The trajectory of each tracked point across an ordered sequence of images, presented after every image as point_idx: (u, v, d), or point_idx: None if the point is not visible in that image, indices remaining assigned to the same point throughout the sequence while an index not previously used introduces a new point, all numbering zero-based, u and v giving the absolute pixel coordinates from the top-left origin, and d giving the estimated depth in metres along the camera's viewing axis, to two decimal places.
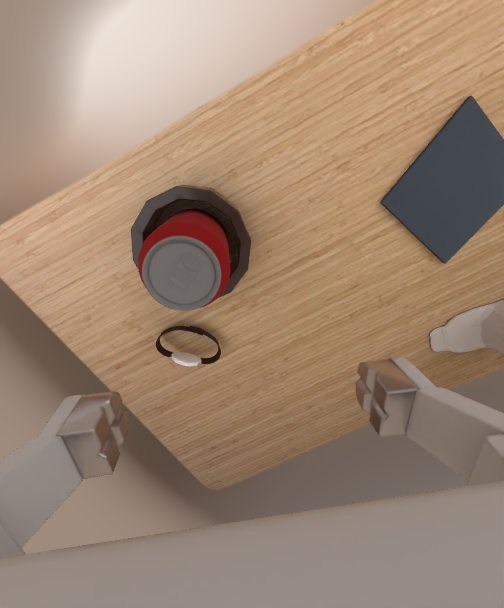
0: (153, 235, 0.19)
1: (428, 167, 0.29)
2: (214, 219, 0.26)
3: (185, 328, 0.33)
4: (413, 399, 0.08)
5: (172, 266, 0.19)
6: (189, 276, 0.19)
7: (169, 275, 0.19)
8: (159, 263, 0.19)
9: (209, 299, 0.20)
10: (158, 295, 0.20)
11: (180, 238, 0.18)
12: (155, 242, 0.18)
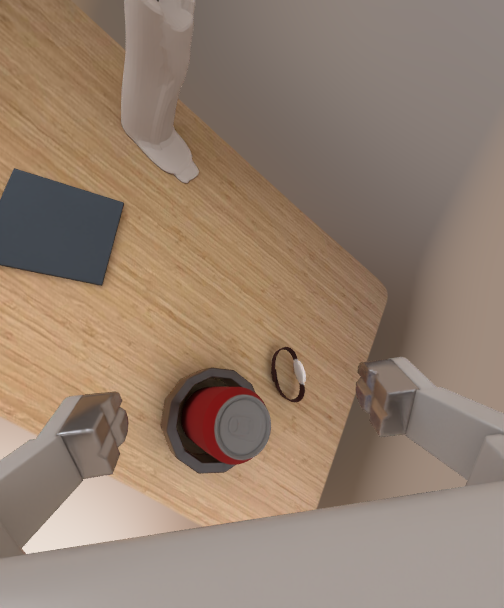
0: (225, 461, 0.24)
1: (53, 261, 0.32)
2: (185, 413, 0.31)
3: (277, 384, 0.39)
4: (413, 399, 0.08)
5: (241, 436, 0.24)
6: (242, 420, 0.25)
7: (248, 434, 0.25)
8: (243, 447, 0.24)
9: (251, 397, 0.25)
10: (265, 434, 0.25)
11: (219, 443, 0.23)
12: (230, 458, 0.24)
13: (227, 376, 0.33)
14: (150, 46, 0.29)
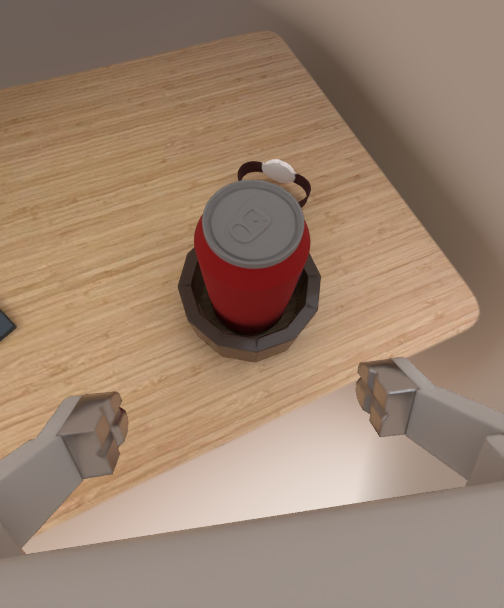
0: (284, 276, 0.15)
1: None
2: (220, 316, 0.22)
3: None
4: (413, 399, 0.08)
5: (264, 232, 0.14)
6: (244, 219, 0.15)
7: (270, 222, 0.15)
8: (280, 237, 0.14)
9: (223, 189, 0.15)
10: (289, 202, 0.15)
11: (247, 262, 0.13)
12: (281, 264, 0.14)
13: None
14: None
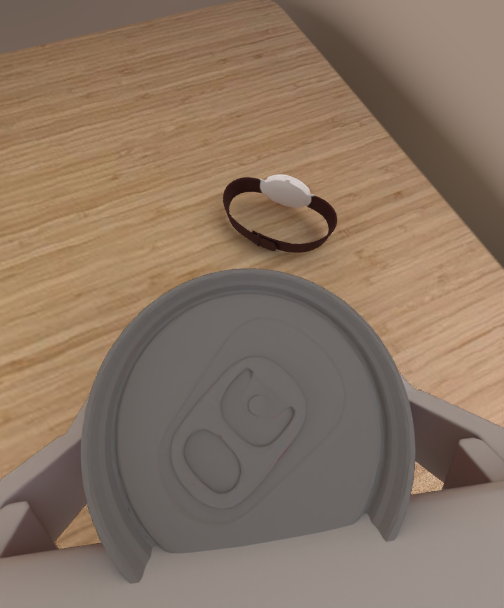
0: None
1: None
2: None
3: (282, 246, 0.18)
4: None
5: (286, 455, 0.04)
6: (222, 405, 0.05)
7: (303, 413, 0.05)
8: (340, 477, 0.04)
9: (160, 303, 0.05)
10: (351, 333, 0.05)
11: None
12: None
13: None
14: None
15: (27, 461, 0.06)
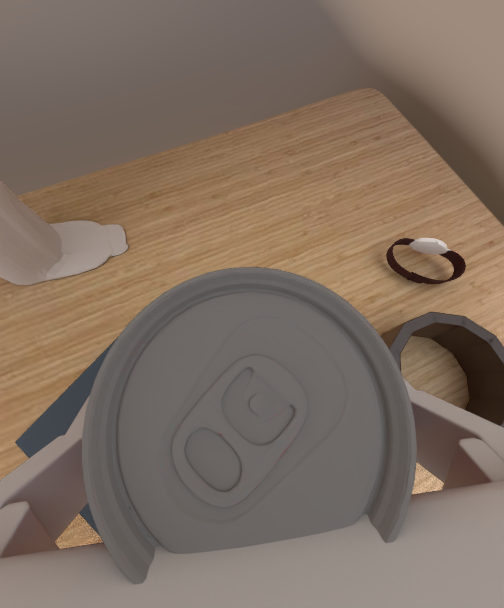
0: None
1: None
2: None
3: (429, 281, 0.29)
4: None
5: (287, 454, 0.04)
6: (223, 404, 0.05)
7: (303, 412, 0.05)
8: (341, 475, 0.04)
9: (160, 302, 0.05)
10: (352, 331, 0.05)
11: None
12: None
13: (408, 335, 0.24)
14: None
15: (27, 461, 0.06)
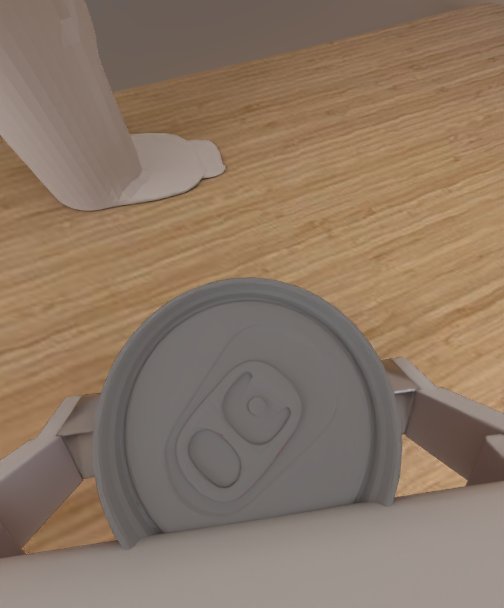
0: None
1: None
2: None
3: None
4: (413, 399, 0.08)
5: (283, 453, 0.05)
6: (224, 406, 0.05)
7: (298, 413, 0.05)
8: (333, 471, 0.05)
9: (164, 311, 0.05)
10: (344, 338, 0.06)
11: None
12: None
13: None
14: None
15: None
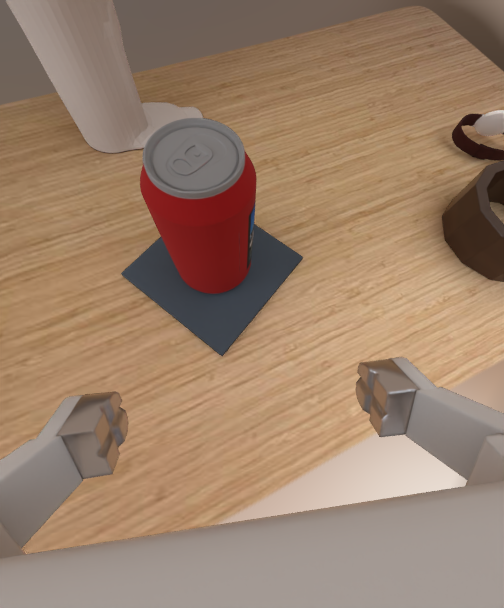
0: (227, 210, 0.15)
1: (256, 287, 0.25)
2: (181, 272, 0.22)
3: (495, 153, 0.31)
4: (413, 399, 0.08)
5: (205, 165, 0.14)
6: (185, 154, 0.15)
7: (211, 156, 0.15)
8: (221, 169, 0.14)
9: (165, 127, 0.15)
10: (231, 138, 0.15)
11: (186, 191, 0.14)
12: (223, 194, 0.14)
13: (492, 174, 0.25)
14: None
15: None
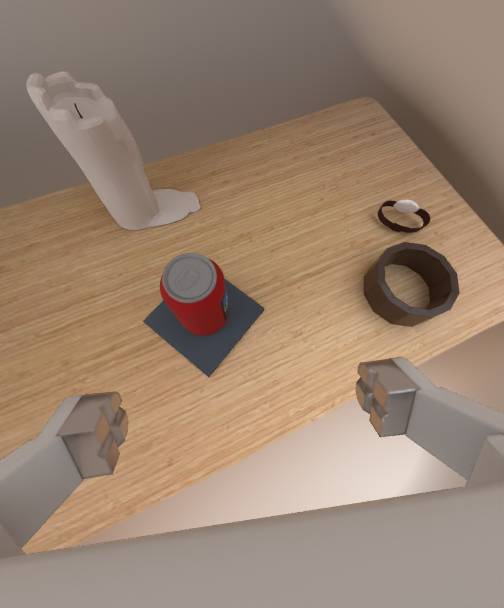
0: (207, 305, 0.28)
1: (232, 330, 0.38)
2: (183, 325, 0.35)
3: (406, 229, 0.44)
4: (413, 399, 0.08)
5: (195, 283, 0.27)
6: (185, 276, 0.28)
7: (198, 277, 0.28)
8: (203, 285, 0.27)
9: (173, 259, 0.28)
10: (209, 264, 0.28)
11: (185, 300, 0.26)
12: (204, 299, 0.27)
13: (389, 255, 0.38)
14: (112, 150, 0.32)
15: None
